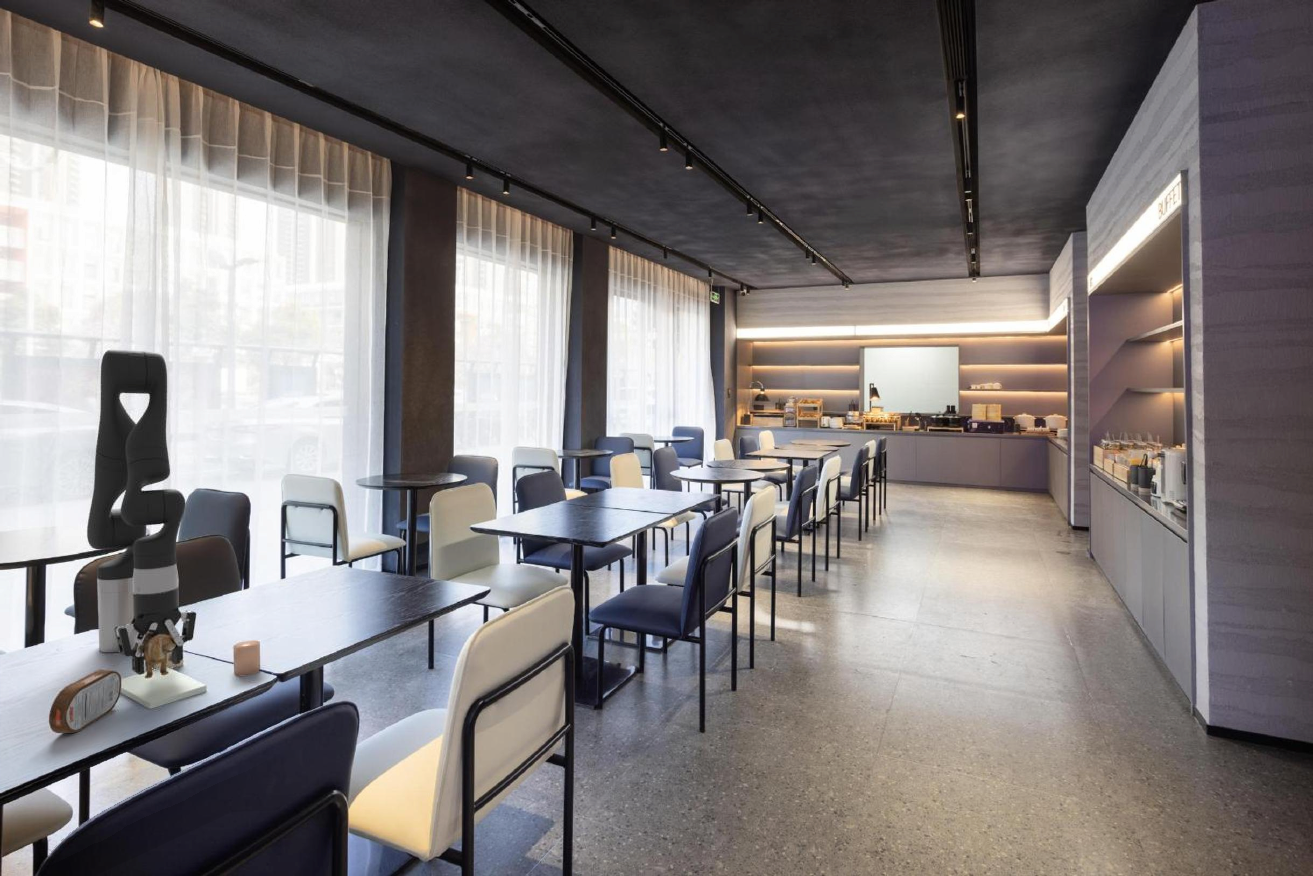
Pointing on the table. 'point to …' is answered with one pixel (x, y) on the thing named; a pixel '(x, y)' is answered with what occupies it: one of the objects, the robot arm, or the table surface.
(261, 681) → the table surface
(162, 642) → the lion figurine
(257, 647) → the peach rounded cylinder
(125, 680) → the sage board
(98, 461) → the robot arm
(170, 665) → the birch block
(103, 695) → the tin
